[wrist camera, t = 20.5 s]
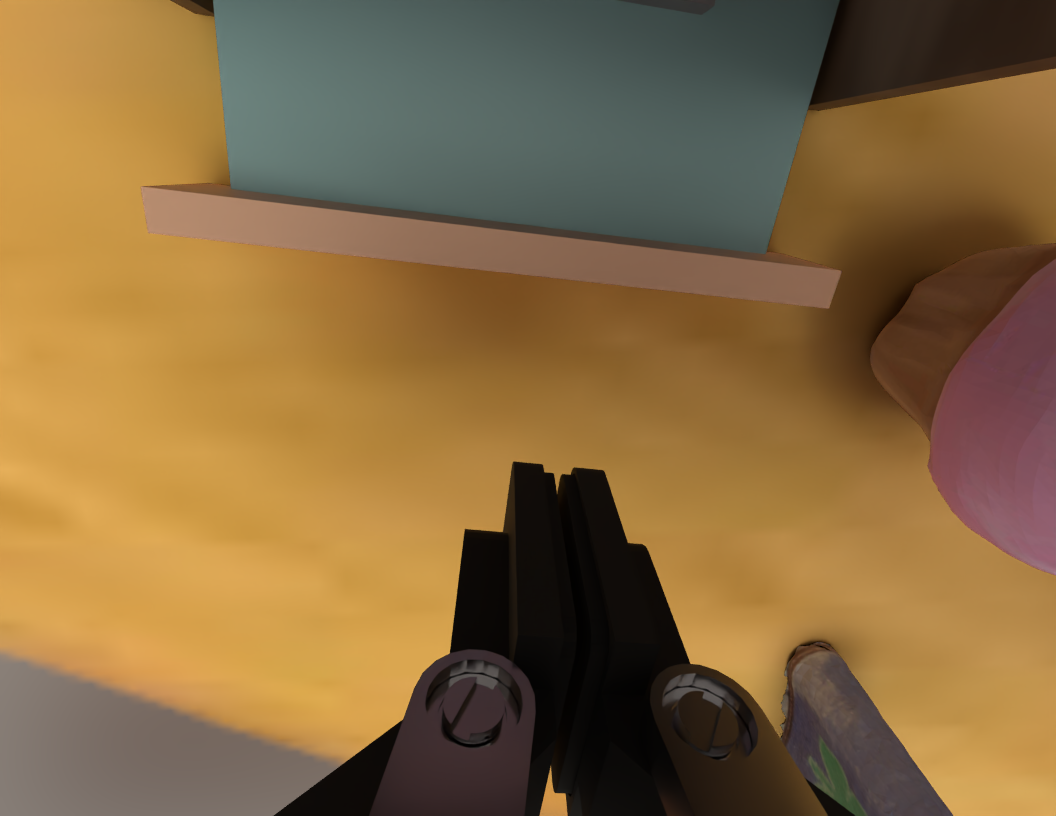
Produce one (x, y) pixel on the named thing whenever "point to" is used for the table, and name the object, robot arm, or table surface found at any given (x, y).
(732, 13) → the tray
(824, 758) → the flask
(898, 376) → the cupcake
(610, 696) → the robot arm
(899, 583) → the table surface
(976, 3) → the cabinet
